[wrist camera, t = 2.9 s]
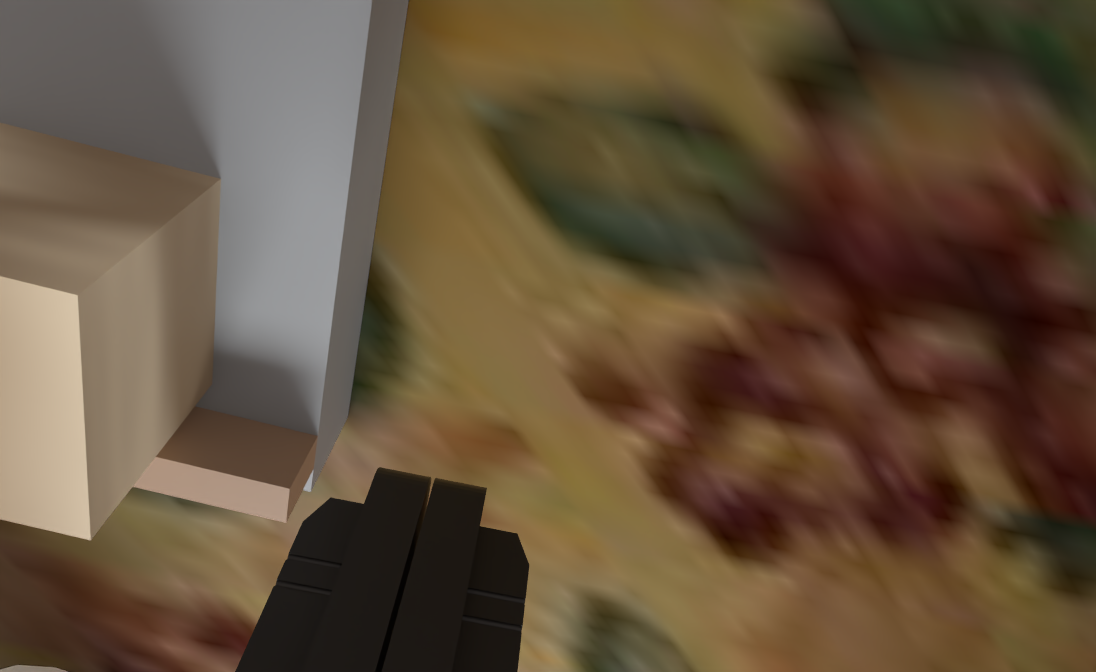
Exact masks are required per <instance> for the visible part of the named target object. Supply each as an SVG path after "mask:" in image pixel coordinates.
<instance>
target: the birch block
mask: <svg viewBox="0 0 1096 672" xmlns="http://www.w3.org/2000/svg"><path fill="white" fill-rule="evenodd" d="M220 190H221V179H220V178H216V177H212V176H208V175H204V174H200V173H196V172H192V171H188V170H184V169H180V168H176V167H173V166H169V165H165V164H161V163H157V162H153V161H149V160H145V159H141V158H137V157H133V156H129V155H125V154H122V153H118V152H114V151H110V150H106V149H102V148H98V147H94V146H90V145H86V144H82V143H78V142H74V141H71V140H67V139H63V138H59V137H55V136H51V135H47V134H43V133H39V132H35V131H31V130H27V129H23V128H20V127H16V126H12V125H8V124H4V123H0V519H1V520H6V521H10V522H14V523H18V524H23V525H27V526H31V527H36V528H40V529H44V530H48V531H53V532H57V533H61V534H66V535H70V536H74V537H79V538H83V539H87V540H91V539H92V538H93V537H94V536H95V534H96V533H97V532H98V530H99V529H100V528H101V527H102V525H103V524H104V523H105V521H106V520H107V519H108V518H109V516H110V515H111V514H112V512H113V511H114V510H115V508H116V507H117V506H118V505H119V503H120V502H121V501H122V499H123V498H124V497H125V496H126V494H127V493H128V492H129V490H130V489H131V488H132V487H133V485H134V484H135V483H136V481H137V480H138V479H139V478H140V476H141V475H142V474H143V472H144V471H145V470H146V469H147V467H148V466H149V465H150V463H151V462H152V461H153V460H154V458H155V457H156V456H157V454H158V453H159V452H160V451H161V449H162V448H163V447H164V445H165V444H166V443H167V442H168V440H169V439H170V438H171V436H172V435H173V434H174V433H175V431H176V430H177V429H178V427H179V426H180V425H181V424H182V422H183V421H184V420H185V418H186V417H187V416H188V415H189V413H190V412H191V411H192V409H193V408H194V407H195V406H196V404H197V403H198V402H199V400H200V399H201V398H202V396H203V395H204V394H205V393H206V391H207V390H208V389H209V387H210V386H211V385H212V378H213V354H214V331H215V307H216V284H217V260H218V237H219V213H220Z"/></svg>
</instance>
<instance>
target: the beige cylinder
mask: <svg viewBox="0 0 1096 672" xmlns="http://www.w3.org/2000/svg"><path fill="white" fill-rule="evenodd" d="M0 672H68V671H65V670H61V669H58V668H55V667H42V666H27V665H15V666H11V667H7V668H4V669H0Z"/></svg>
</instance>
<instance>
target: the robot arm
mask: <svg viewBox="0 0 1096 672" xmlns="http://www.w3.org/2000/svg"><path fill="white" fill-rule="evenodd" d="M430 485H431V477H426V476H421V475H416V474H411V473H406V472H401V471H396V470H391V469H386V468H381V467H379V468H378V469H377V471H376V473H375V476H374V479H373V481H372V484H371V487H370V489H369V492H368V495H367V497H366V500H365V503H364V504H361V503H356V502H351V501H346V500H340V499H335V498H330V499H329V500H327V501H326V502H325V503H324V504H323V505H322V506H321V507H319V508H318V509H317V510H316V511H315V512H314V513H312V514H311V515H310V516H309V517H308V518H307V519H306V520H304V521H303V523H302V525H301V527H300V529H299V532H298V534H297V536H296V538H295V540H294V543H293V545H292V547H291V549H290V552H289V555H288V559H287V560H285V563H284V565H283V567H282V569H281V572H280V574H279V576H278V578H277V582H276V585H275V586H274V587H273V589H272V591H271V594H270V596H269V598H268V600H267V603H266V605H265V607H264V609H263V611H262V614H261V616H260V618H259V620H258V623H257V625H256V627H255V629H254V631H253V634H252V636H251V638H250V640H249V642H248V645H247V647H246V649H245V651H244V654H243V656H242V658H241V660H240V662H239V665H238V667H237V669H236V671H235V672H517V670H518V661H519V652H520V643H521V634H522V633H521V630H522V625H523V616H524V607H525V605H524V603H525V598H526V589H527V581H528V572H529V563H528V561H527V558H526V555H525V553H524V550H523V547H522V545H521V542H520V540H519V537H518V534H517V533H512V532H506V531H501V530H496V529H491V528H486V527H481V526H480V521H481V516H482V511H483V506H484V500H485V495H486V490H487V488H484V487H479V486H474V485H468V484H463V483H458V482H453V481H448V480H443V479H438V478H435V480H434V483H433V487H432V491H431V494H430V498H429V501H428V497H429V491H430ZM427 503H428V505H427Z"/></svg>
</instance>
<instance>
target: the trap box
mask: <svg viewBox="0 0 1096 672" xmlns="http://www.w3.org/2000/svg"><path fill="white" fill-rule="evenodd" d="M408 1H409V0H0V123H4V124H8V125H12V126H16V127H20V128H23V129H27V130H31V131H35V132H39V133H43V134H47V135H51V136H55V137H59V138H63V139H67V140H71V141H74V142H78V143H82V144H86V145H90V146H94V147H98V148H102V149H106V150H110V151H114V152H118V153H122V154H125V155H129V156H133V157H137V158H141V159H145V160H149V161H153V162H157V163H161V164H165V165H169V166H173V167H176V168H180V169H184V170H188V171H192V172H196V173H200V174H204V175H208V176H212V177H216V178H220V179H221V190H220V213H219V237H218V260H217V284H216V307H215V331H214V354H213V378H212V385H211V386H210V387H209V389H208V390H207V391H206V393H205V394H204V395H203V396H202V398H201V399H200V400H199V402H198V403H197V404H196V406H195V407H194V408H193V409H192V411H191V412H190V413H189V415H188V416H187V417H186V418H185V420H184V421H183V422H182V424H181V425H180V426H179V427H178V429H177V430H176V431H175V433H174V434H173V435H172V436H171V438H170V439H169V440H168V442H167V443H166V444H165V445H164V447H163V448H162V449H161V451H160V452H159V453H158V454H157V456H156V457H155V458H154V460H153V461H152V462H151V463H150V465H149V466H148V467H147V469H146V470H145V471H144V472H143V474H142V475H141V476H140V478H139V479H138V480H137V481H136V483H135V484H134V485H133V487H137V488H141V489H145V490H149V491H154V492H158V493H162V494H166V495H170V496H175V497H179V498H183V499H187V500H192V501H196V502H200V503H204V504H209V505H213V506H217V507H221V508H225V509H230V510H234V511H238V512H242V513H247V514H251V515H255V516H259V517H263V518H268V519H272V520H276V521H280V522H285V523H286V522H287V520H288V518H289V516H290V514H291V512H292V510H293V508H294V506H295V504H296V502H297V500H298V498H299V497H300V495H301V493H302V491H303V490H305V491H309V492H311V490H312V488H313V486H314V484H315V482H316V480H317V478H318V476H319V474H320V472H321V470H322V468H323V466H324V464H325V462H326V460H327V458H328V456H329V454H330V452H331V450H332V448H333V446H334V444H335V442H336V440H337V438H338V436H339V434H340V432H341V430H342V428H343V426H344V424H345V422H346V420H347V418H348V412H349V406H350V399H351V392H352V385H353V378H354V371H355V364H356V358H357V351H358V344H359V337H360V330H361V323H362V316H363V310H364V303H365V296H366V289H367V282H368V275H369V268H370V262H371V255H372V248H373V241H374V234H375V227H376V220H377V214H378V207H379V200H380V193H381V186H382V179H383V173H384V166H385V159H386V152H387V145H388V138H389V131H390V125H391V118H392V111H393V104H394V97H395V90H396V83H397V77H398V70H399V63H400V56H401V49H402V42H403V35H404V29H405V22H406V15H407V8H408Z"/></svg>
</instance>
